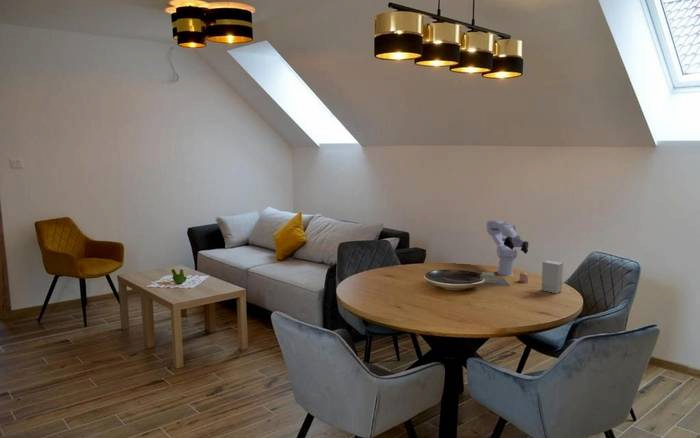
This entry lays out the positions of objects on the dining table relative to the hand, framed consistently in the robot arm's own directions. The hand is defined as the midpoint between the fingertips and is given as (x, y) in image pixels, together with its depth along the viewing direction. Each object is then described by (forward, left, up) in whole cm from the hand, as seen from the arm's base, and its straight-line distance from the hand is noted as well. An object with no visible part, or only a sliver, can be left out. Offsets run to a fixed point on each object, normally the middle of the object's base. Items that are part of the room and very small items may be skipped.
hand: (519, 249), depth 273 cm
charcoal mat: (-1, -15, -18) cm, 23 cm away
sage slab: (-1, -15, -16) cm, 21 cm away
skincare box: (+10, +14, -18) cm, 25 cm away
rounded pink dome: (-4, +4, -18) cm, 19 cm away
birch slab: (-1, -15, -18) cm, 23 cm away
